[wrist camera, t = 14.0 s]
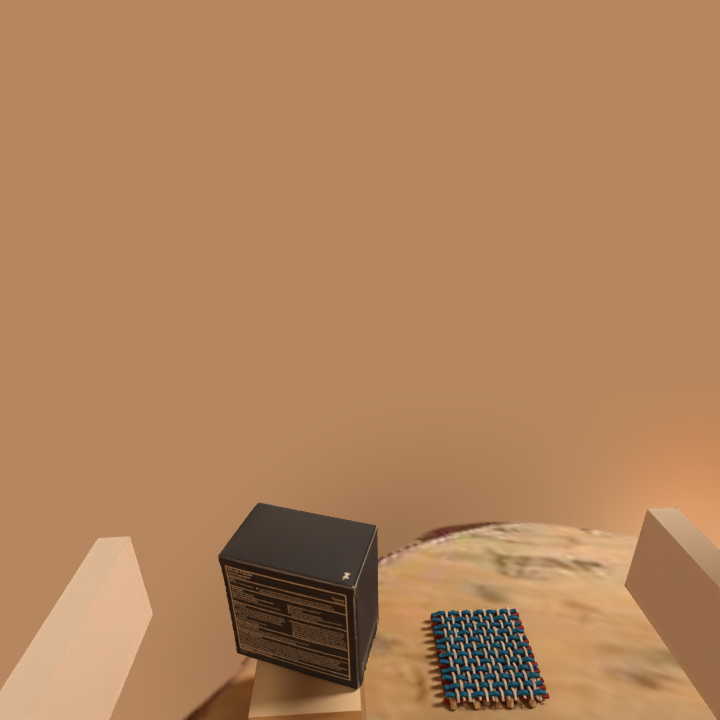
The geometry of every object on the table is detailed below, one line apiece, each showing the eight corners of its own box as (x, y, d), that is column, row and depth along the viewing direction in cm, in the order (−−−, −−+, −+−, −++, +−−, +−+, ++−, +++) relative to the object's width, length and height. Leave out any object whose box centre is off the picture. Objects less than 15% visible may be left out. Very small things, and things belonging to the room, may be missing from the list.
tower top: (356, 621, 46) (355, 570, 43) (362, 765, 35) (360, 710, 32) (278, 625, 45) (271, 575, 43) (259, 772, 34) (248, 717, 32)
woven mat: (552, 711, 44) (555, 699, 44) (445, 715, 44) (446, 702, 43) (516, 614, 54) (518, 602, 53) (428, 617, 54) (429, 605, 53)
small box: (382, 615, 39) (381, 521, 34) (360, 693, 33) (357, 592, 29) (271, 587, 41) (258, 496, 37) (233, 654, 36) (213, 557, 32)
